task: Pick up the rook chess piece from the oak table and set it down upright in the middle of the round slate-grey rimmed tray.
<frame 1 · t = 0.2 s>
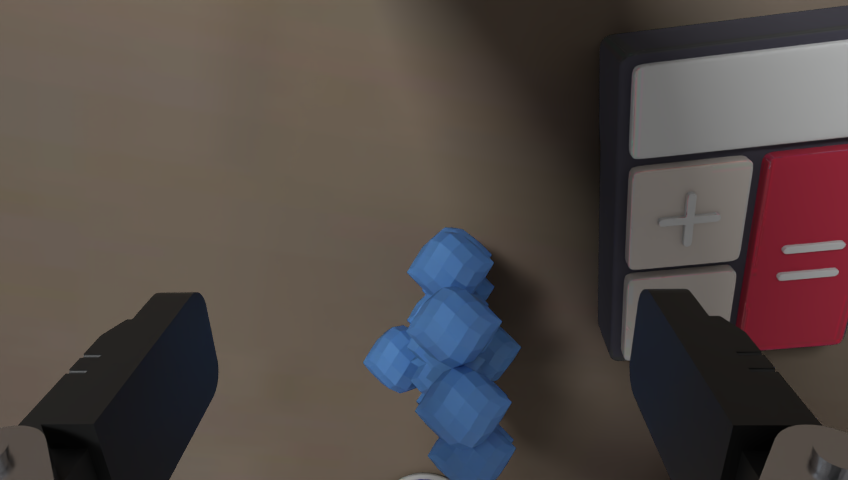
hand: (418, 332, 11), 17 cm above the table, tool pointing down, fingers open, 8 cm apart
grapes: (441, 279, 31), on the table
calculator: (713, 184, 29), on the table
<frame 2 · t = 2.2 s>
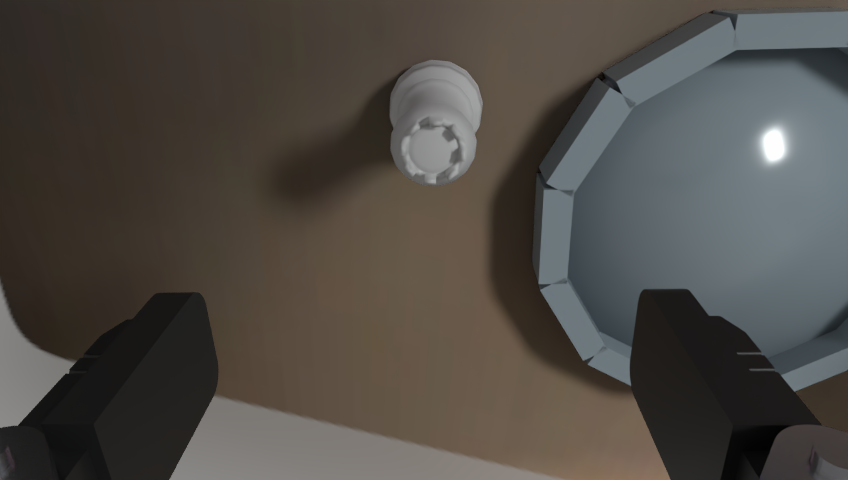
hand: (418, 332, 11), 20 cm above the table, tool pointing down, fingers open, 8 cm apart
round tray: (729, 216, 31), on the table
rook chess piece: (436, 104, 29), on the table
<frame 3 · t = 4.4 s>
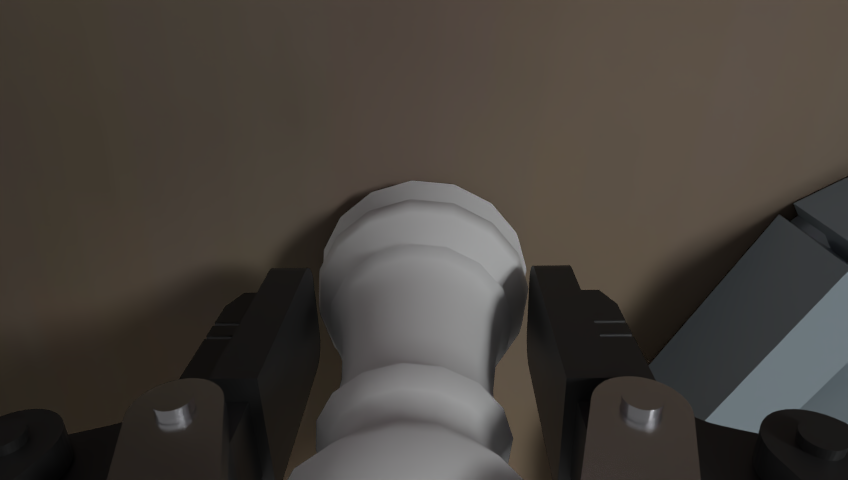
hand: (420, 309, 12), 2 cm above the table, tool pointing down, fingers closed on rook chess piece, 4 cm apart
rook chess piece: (424, 262, 14), on the table, touching gripper
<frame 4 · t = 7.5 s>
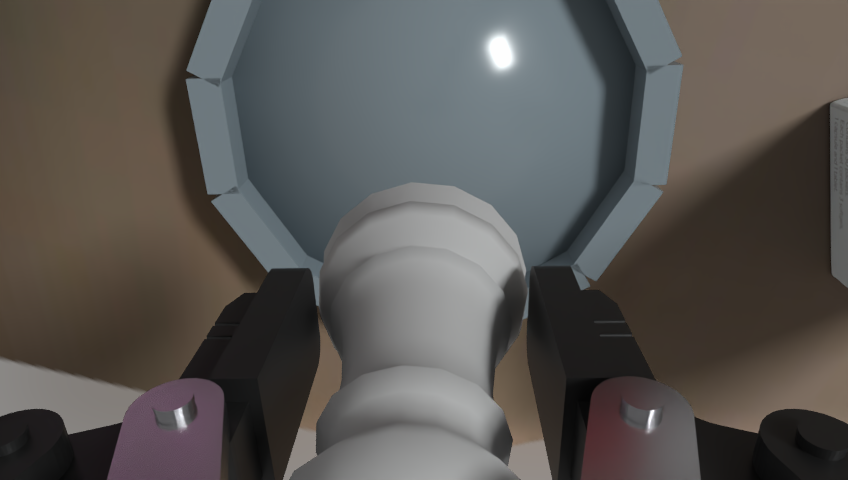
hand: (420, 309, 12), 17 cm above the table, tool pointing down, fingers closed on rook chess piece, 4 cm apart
round tray: (433, 119, 28), on the table
rook chess piece: (424, 264, 14), point 15 cm above the table, touching gripper
when the fingers open (4 cm above the table, at t = 10.8 s): rook chess piece stays where it is, resting on round tray.
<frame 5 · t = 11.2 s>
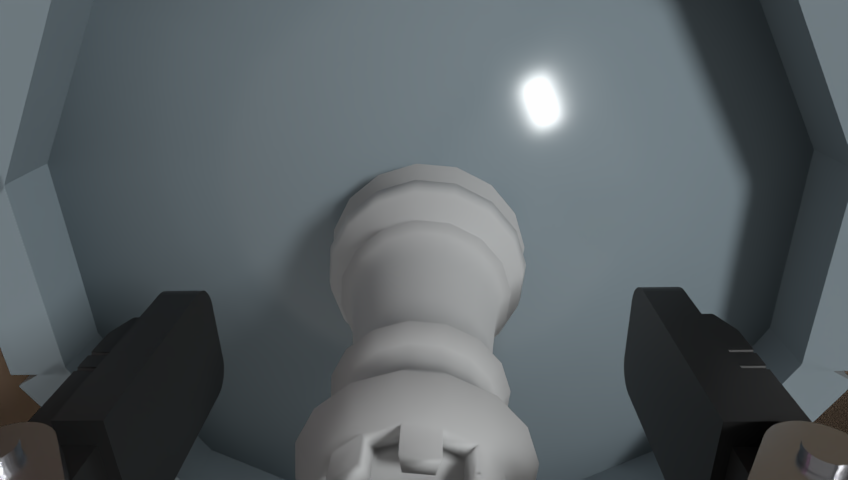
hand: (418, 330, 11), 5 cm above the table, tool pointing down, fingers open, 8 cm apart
round tray: (425, 232, 15), on the table
rook chess piece: (428, 243, 15), point 1 cm above the table, touching round tray
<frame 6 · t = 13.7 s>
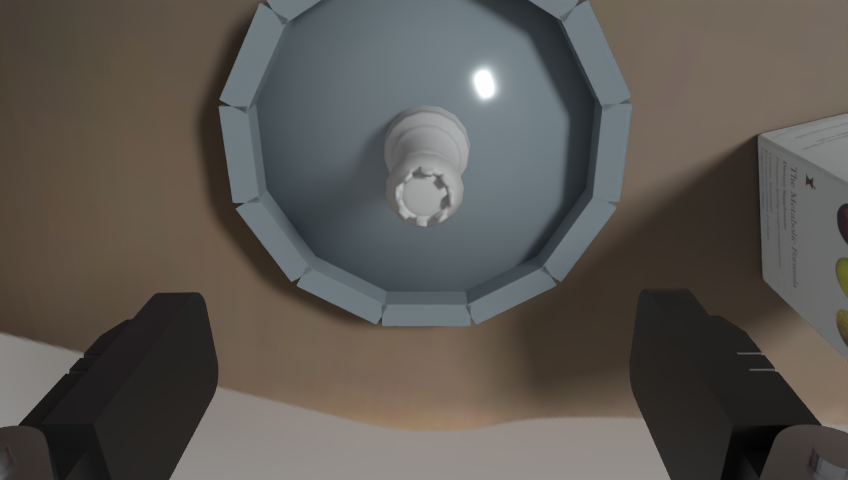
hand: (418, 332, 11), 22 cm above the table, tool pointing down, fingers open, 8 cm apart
round tray: (425, 142, 32), on the table
supplement box: (840, 191, 33), on the table
rook chess piece: (426, 144, 32), point 1 cm above the table, touching round tray
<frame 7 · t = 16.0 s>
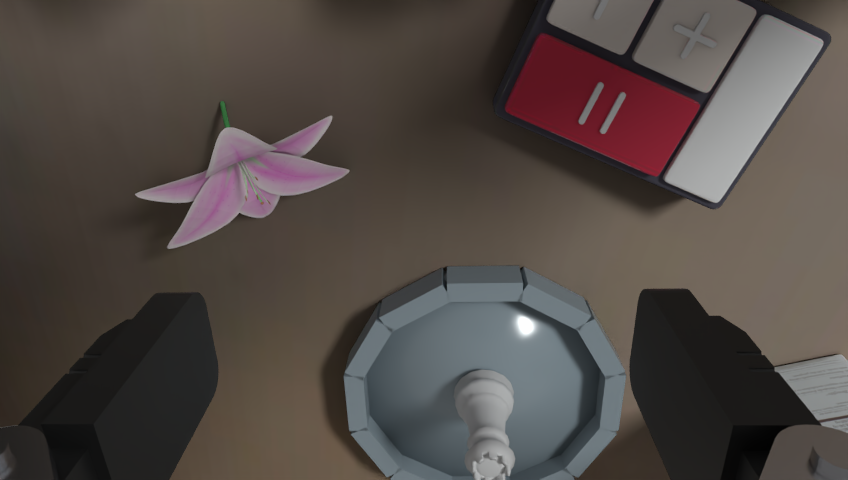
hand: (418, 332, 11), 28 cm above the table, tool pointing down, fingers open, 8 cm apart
round tray: (481, 382, 46), on the table
supplement box: (778, 410, 47), on the table
calculator: (638, 67, 37), on the table
rook chess piece: (483, 388, 45), point 1 cm above the table, touching round tray
lily: (267, 154, 39), on the table
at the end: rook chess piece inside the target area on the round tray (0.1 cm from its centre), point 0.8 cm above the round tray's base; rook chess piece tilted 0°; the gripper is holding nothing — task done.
